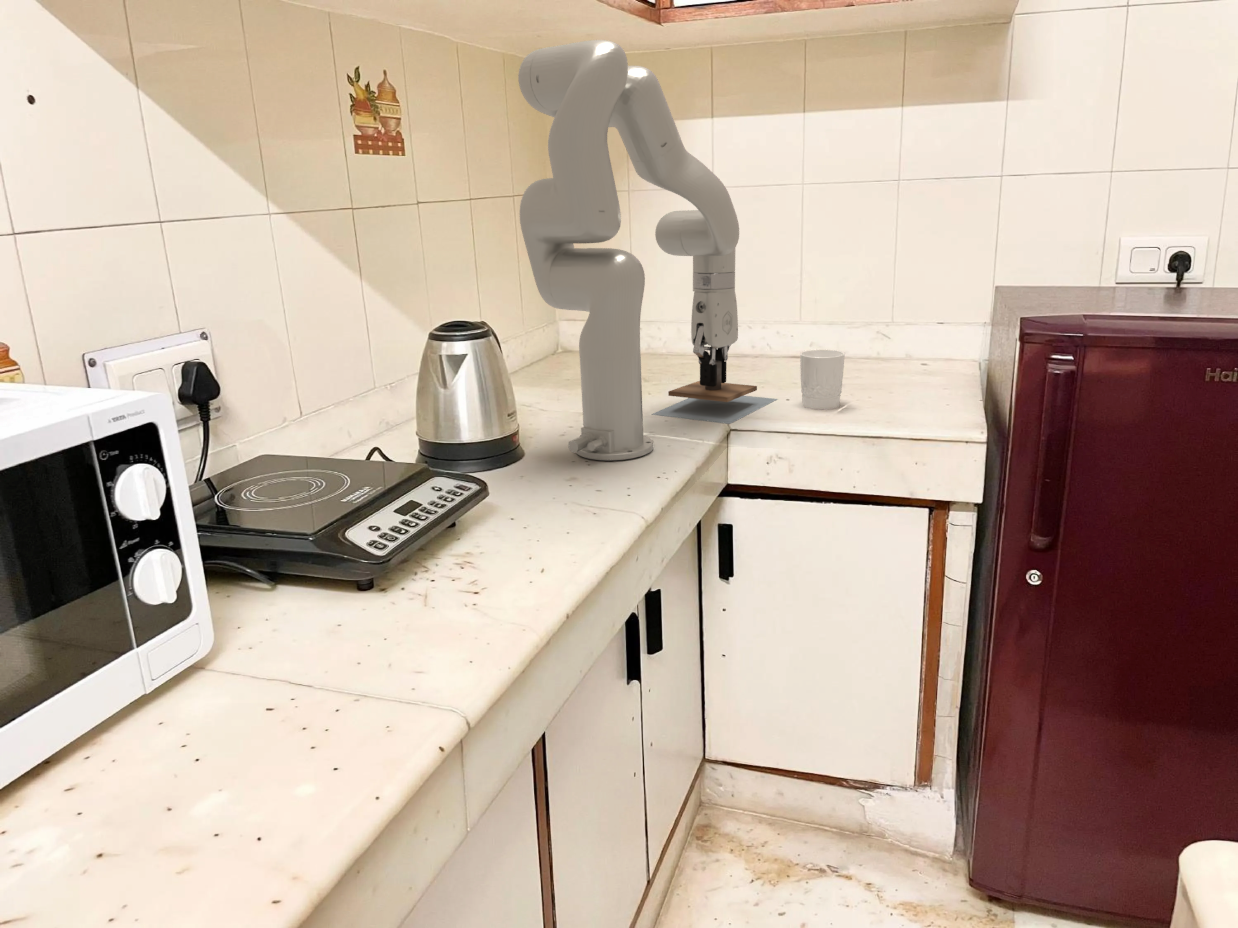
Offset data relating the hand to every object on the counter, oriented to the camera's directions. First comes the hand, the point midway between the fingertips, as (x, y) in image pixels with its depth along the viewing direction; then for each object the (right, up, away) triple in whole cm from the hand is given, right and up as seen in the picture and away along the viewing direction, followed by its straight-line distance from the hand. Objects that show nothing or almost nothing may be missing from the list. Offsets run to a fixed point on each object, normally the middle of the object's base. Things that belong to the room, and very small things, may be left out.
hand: (713, 383), depth 169 cm
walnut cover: (0, -2, +1) cm, 2 cm away
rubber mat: (+1, -5, +2) cm, 5 cm away
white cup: (+20, -5, 0) cm, 20 cm away
